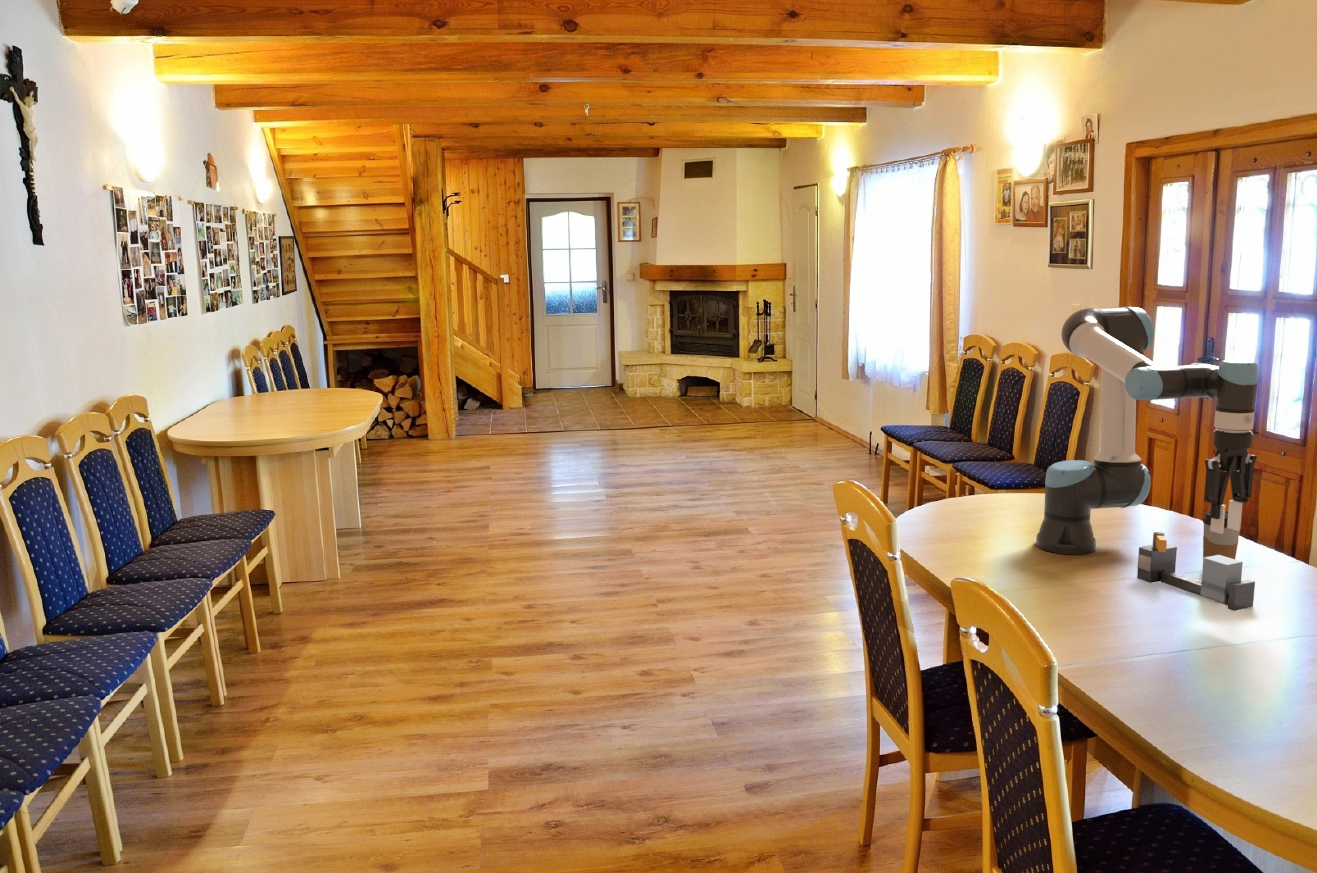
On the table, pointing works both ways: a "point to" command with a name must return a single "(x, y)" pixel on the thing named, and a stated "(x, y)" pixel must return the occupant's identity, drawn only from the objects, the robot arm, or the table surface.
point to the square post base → (1241, 595)
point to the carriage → (1219, 576)
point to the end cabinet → (1155, 562)
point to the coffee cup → (1219, 539)
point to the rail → (1184, 583)
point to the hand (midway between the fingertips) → (1225, 530)
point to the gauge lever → (1159, 541)
